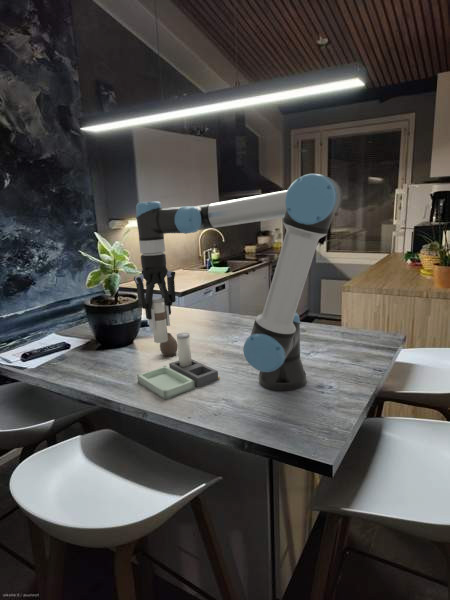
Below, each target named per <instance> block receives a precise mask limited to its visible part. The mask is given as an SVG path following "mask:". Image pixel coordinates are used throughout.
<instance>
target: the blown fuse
mask: <svg viewBox="0 0 450 600" xmlns="http://www.w3.org/2000/svg"><path fill="white" fill-rule="evenodd" d="M152 309H154V315H155V325H156V329H155V330H153V329H152V332H153V341H154V343H157V344H160V343H163V342H167V341H168V334H167V333H168V326H167V323H166V311H165V301H164V298H163V297H162V296H161V297H160V296H159V297H158V296H157V297H153V298H152Z"/></svg>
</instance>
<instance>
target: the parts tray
mask: <svg viewBox="0 0 450 600" xmlns="http://www.w3.org/2000/svg"><path fill="white" fill-rule="evenodd" d="M137 383H139V384H140V385H142V386H143V387H145V388H146V389H148V390H150V391H151V392H153V393H154V394H156V395H157V396H159V397H161V398H162V399H164V400H165V399H166V400H168V399H171V398H173V397H176V396H179V395H181V394H183V393H186V392H190V391H192V390H194V389H196V388H195V387H196V385H195V384H194V380H192V379H190V378H188V377H186V376H184V375H182V374H180V373H178V372H177V371H175V370H173V369H171V368H170V367H169V366H167V365H164V366H161V367H157V368H155V369H151V370H148V371H145V372H141V373H139V374H137Z"/></svg>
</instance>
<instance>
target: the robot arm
mask: <svg viewBox="0 0 450 600" xmlns="http://www.w3.org/2000/svg"><path fill="white" fill-rule="evenodd" d="M342 201H343V192H342V188H341V186H340V184H339V183H338V182H337V181H336V180H335V179H333V178H331V177H330V176H326V175H324V174H322V173H321V174H320V173H314V172H313V173H308V174H304V175H302V176H299V177H298V178H297V179H295V180H294V181H292V183H291V184H290V186H288V188H287V190H286V189H285V190H281V191H275V192H274V191H273V192H270V193H264V194H258V195H253V196H247V197H241V198H237V199H229V200H224V201H218V202H213V203H207V204H201V205H194V206H193V205H192V206H191V205H190V206H189V205H186V206H185V205H183V206H174V207H163V206H162V204H161V202H160V201H143V202H137V204H136V206H135V210H136V211H135V213H136V217H135V219H136V223H137V232H138V242H139V251H140V252H139V253H141V256H140V263H141V264H140V265H141V268H142V269H141V273H140V274H139V275H138V276H134V277H133V281H134V282H135V284H136V292H137V293H136V294H137V302H138V307H139V308H141V309H144V310H145V318H146V320H148V325H149V326H148V327H149V329H151V330H152V331H153V330H155V329H156V325H155V315H154V309H152V298H154V288H155V287H156V286H155V285H158V288H159V291H160V294H161V297H163V298H164V301H165V311H166V323H167V327H170V326H171V321H170V320H171V319H170V315H171V314H172V309H171V307H172V306H173V303H176V288H175V287H176V286H175V284H176V283H175V278H176V272H175V271H171V270H168V267H167V257H166V254H165V252H166V247H165V246H166V245H165V235H166V234H185V235H186V234H192V233H193V234H194V233H197V232H198V231H202V230H203V231H204V230H208V229H215V228H221V227H229V226H235V225H241V224H242V225H243V224H249V223H255V222H263V221H269V220H271V221H272V220H276V219H277V220H278V219H283V220H282V224H283V226H284V228H285V230H286V231H285V235H284V239H283V241H282V245H281V249H280V252H279V255H278V259H277V262H276V265H275V269H274V273H273V276H272V280H271V283H270V287H269V289H268V293H267V297H266V301H265V304H264V307H263V311H262V313H260V314H258V315H256V316H255V318H254V323H253V325H252V329H251V333H250V335H249V336H248V337H247V338H246V340H245V342H244V344H243V348H242V349H243V350H242V352H243V356H244V358H245V359H246V361H247V364H249V365H250V366H251V367H252V368H253V369H255V370H257V371H259V372H258V382H259V385H261V386H262V387H264V388H266V389H268V390H272V391H279V392H281V391H283V392H284V391H294V390H298V389H300V388H302V387H304V386H305V385H306V384H307V375H306V371H305V370H304V369H305V368H304V366H303V362H302V360H301V322H300V315H299V314H298V312H297V309H298V306H299V303H300V299H301V297H302V294H303V290H304V286H305V283H306V281H307V277H308V274H309V272H310V268H311V266H312V263H313V259H314V256H315V253H316V249H317V246H318V243H319V240H320V239H321V238H324V237H326V236H327V235H328V232H329V229H330V225H331V223H332V220H333V217H334V215H336V213H337V212H338V211H339V210H340V207H341V205H342ZM144 280H145V285H144ZM166 284H167V286H166ZM145 288H146V290H145Z"/></svg>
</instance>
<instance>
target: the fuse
mask: <svg viewBox="0 0 450 600" xmlns="http://www.w3.org/2000/svg"><path fill="white" fill-rule="evenodd" d="M190 337H191V336H190V333H189V332H179V333H177V334H176V342H177V346H178V348H177V354H178V361H179V367H181V368H185V367H188V366H191V365H192V360H193V359H192V349H191V348H192V347H191V338H190ZM191 359H192V360H191Z"/></svg>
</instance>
